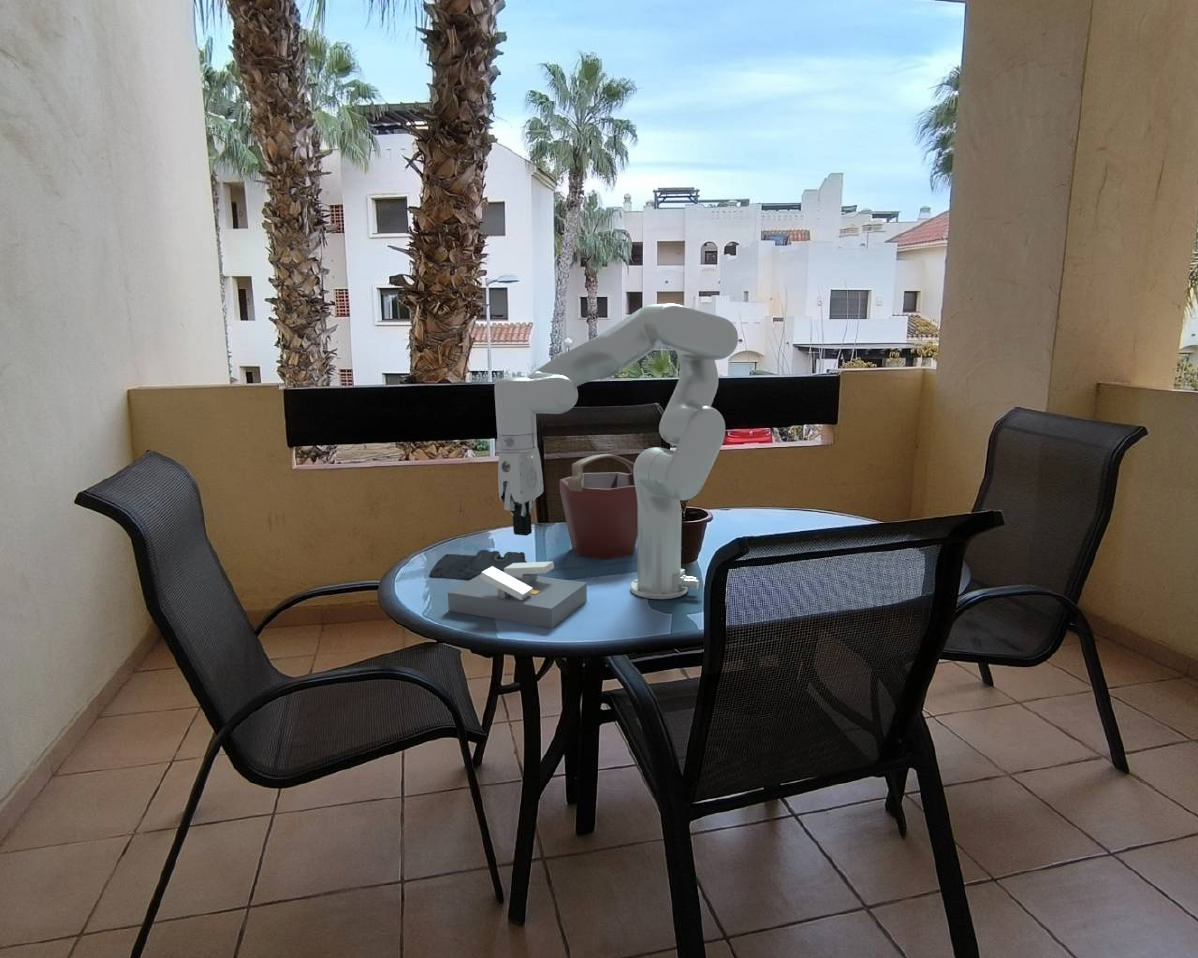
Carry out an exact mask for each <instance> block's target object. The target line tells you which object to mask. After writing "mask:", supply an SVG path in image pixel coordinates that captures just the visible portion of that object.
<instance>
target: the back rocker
mask: <svg viewBox="0 0 1198 958" xmlns="http://www.w3.org/2000/svg"><path fill="white" fill-rule="evenodd" d="M554 563H555V562H554V561H533V562H532V561H531V562H527V563H513V564H511V565H509V566H507V567H506V568H504V572H505V573H506V574H508V575H513V574H537V575H539V574H540V575H542V574H547V573H548V572H551V571H552V570H553V569H554V568H555V564H554Z"/></svg>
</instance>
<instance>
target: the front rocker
mask: <svg viewBox="0 0 1198 958" xmlns="http://www.w3.org/2000/svg"><path fill="white" fill-rule="evenodd" d="M480 578H481V579H483V580H485V581H486V582H488V583H490V584H492V585H494V586H496V587H497V588H499V589H501V590H503V591H505V592H507V593H508V594H510V595H512V596H514V597H516V598H518V599H519V600H523V599H524V598H526V597H527V596H529V595H530V594H531V592H532V589H533V588H532V587H530V586H528V585H526V584H524V583H523V582H521V581H519V580H517V579H515V578H513V577H511V576H510V575H508V574H506V573H504V572H502V571H500V570H498V569H497V568H495V567H493V566H492V567H490V568H488V569H486V570H484V571H483V572H482V573H481V576H480Z"/></svg>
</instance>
